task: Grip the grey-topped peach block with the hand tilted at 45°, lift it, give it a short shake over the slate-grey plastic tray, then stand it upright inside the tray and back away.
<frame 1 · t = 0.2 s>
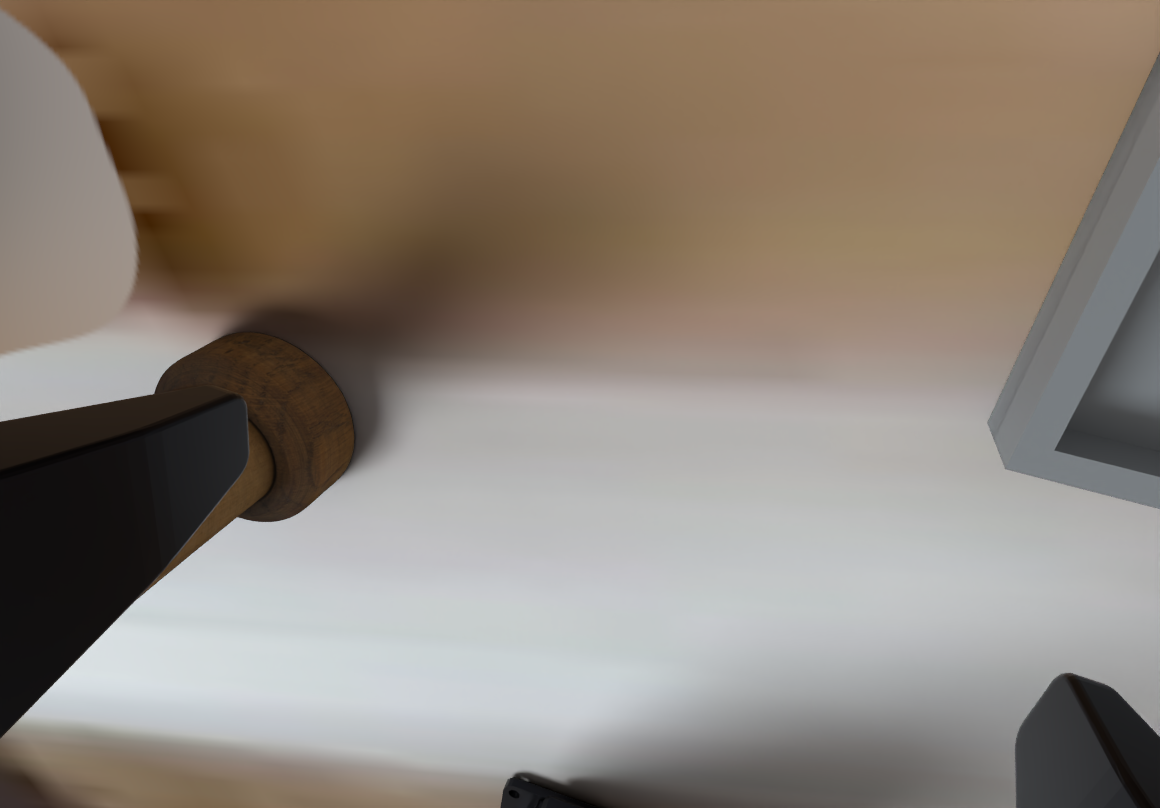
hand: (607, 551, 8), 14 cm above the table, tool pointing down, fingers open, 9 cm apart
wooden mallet: (278, 411, 28), on the table
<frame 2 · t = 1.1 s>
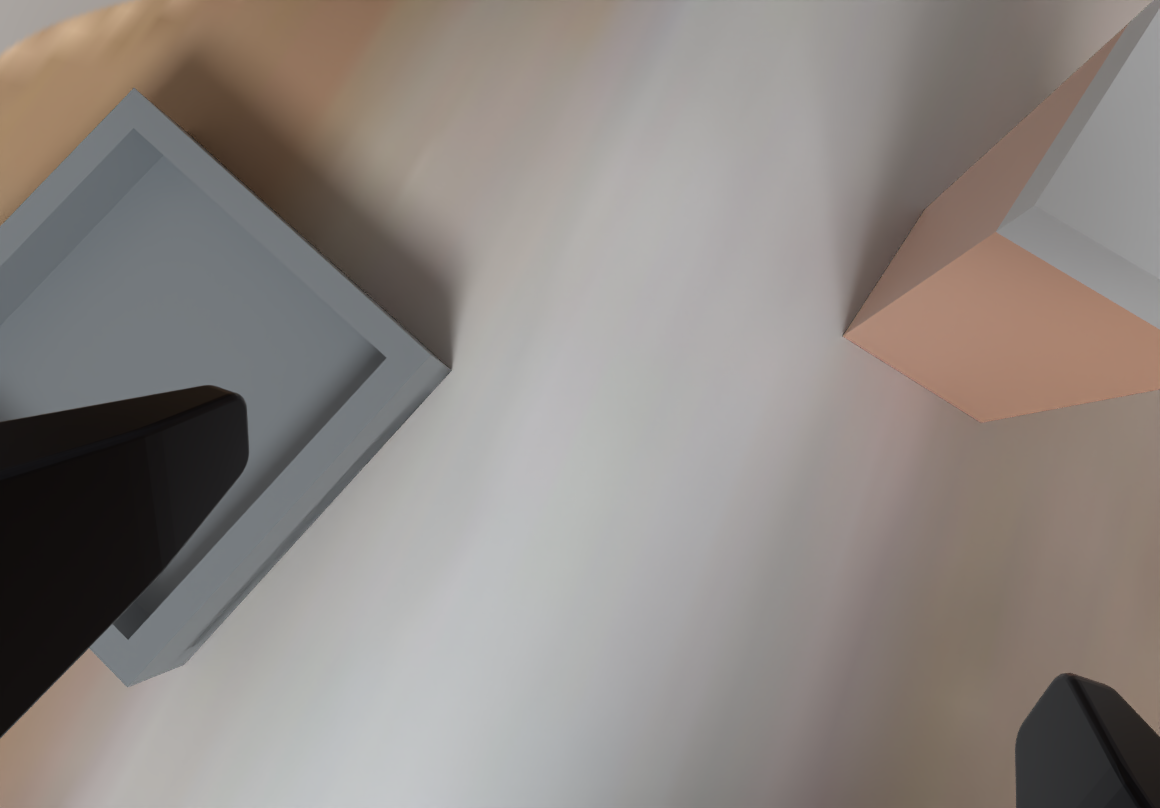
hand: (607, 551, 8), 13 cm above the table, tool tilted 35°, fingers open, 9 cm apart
tray: (184, 387, 22), on the table
grey-topped peach block: (952, 314, 22), on the table
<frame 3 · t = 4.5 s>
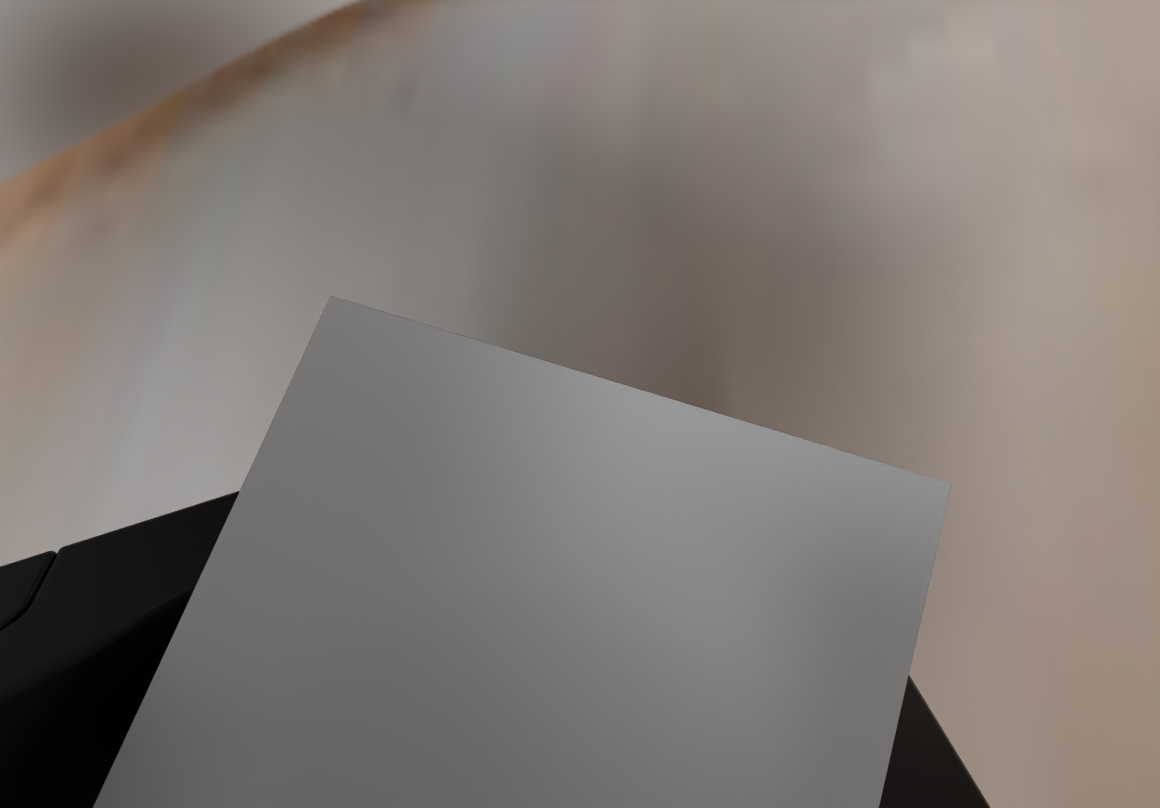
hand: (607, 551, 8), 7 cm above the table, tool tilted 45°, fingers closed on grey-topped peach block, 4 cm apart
grey-topped peach block: (601, 661, 14), on the table, touching gripper
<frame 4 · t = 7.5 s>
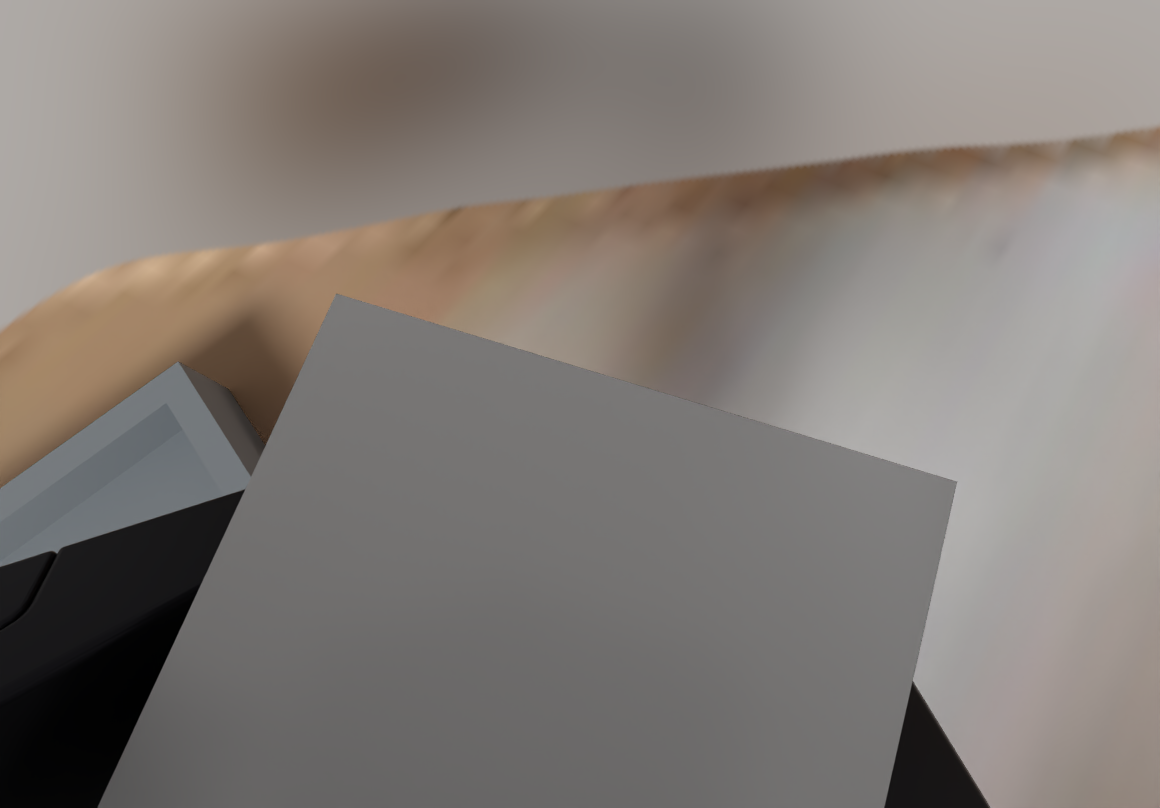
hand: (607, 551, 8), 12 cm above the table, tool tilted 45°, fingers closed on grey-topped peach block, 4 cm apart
tray: (155, 666, 21), on the table
grey-topped peach block: (603, 661, 14), point 6 cm above the table, touching gripper
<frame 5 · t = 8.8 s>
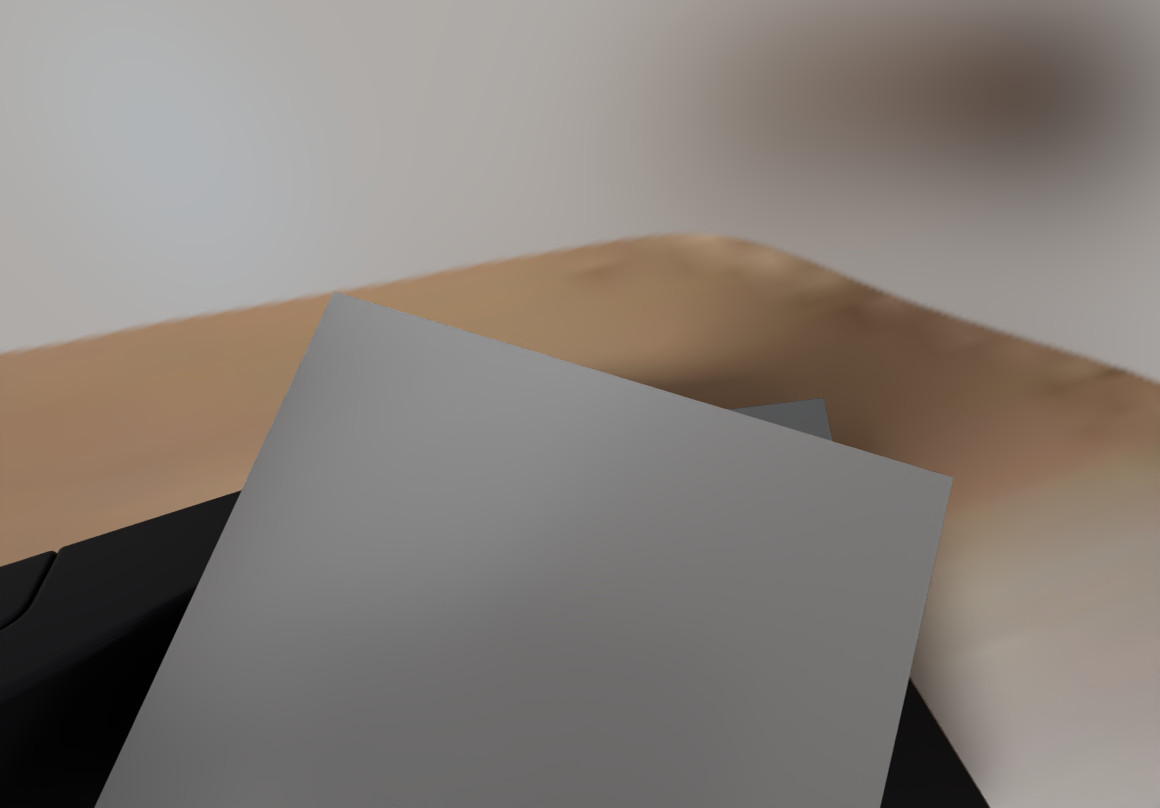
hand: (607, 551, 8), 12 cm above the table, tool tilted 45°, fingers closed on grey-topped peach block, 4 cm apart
tray: (628, 656, 20), on the table
grey-topped peach block: (602, 659, 14), point 6 cm above the table, touching gripper
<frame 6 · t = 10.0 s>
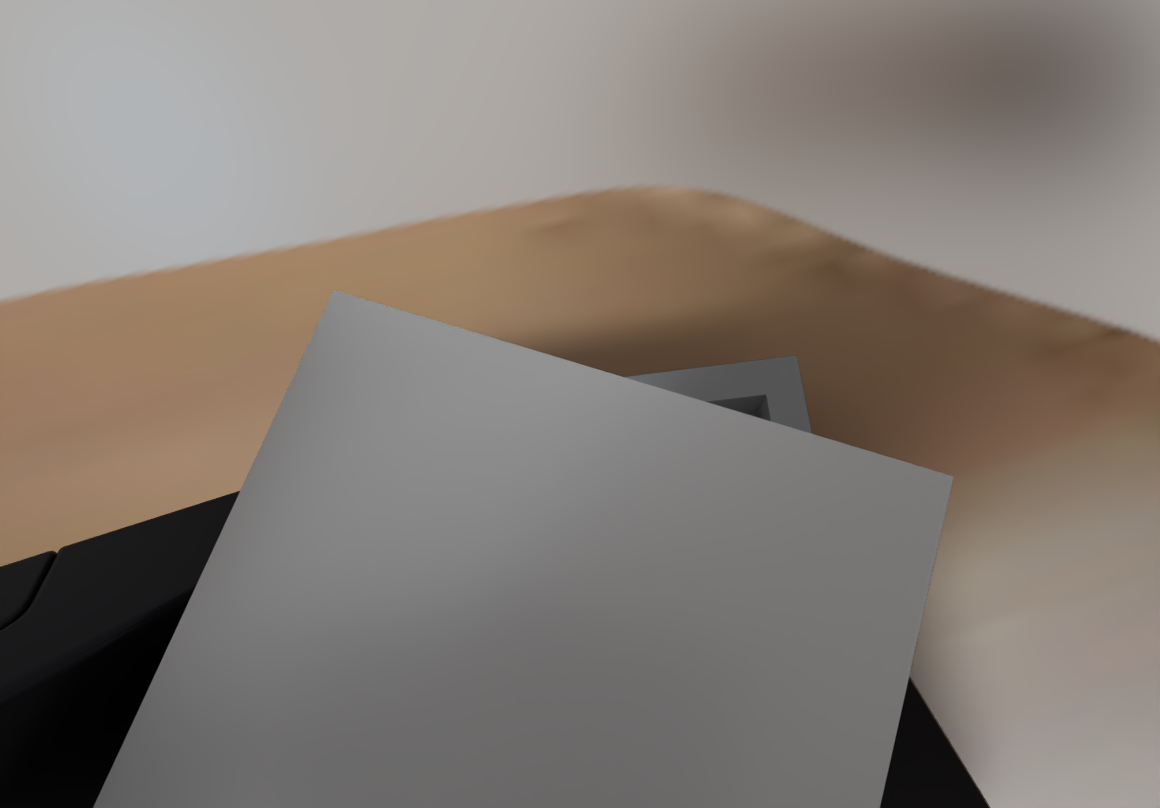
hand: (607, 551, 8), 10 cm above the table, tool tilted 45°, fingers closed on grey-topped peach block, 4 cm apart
tray: (583, 641, 18), on the table
grey-topped peach block: (602, 659, 14), point 4 cm above the table, touching gripper
when the fingers open (9 cm above the table, at t = 10.7 s): grey-topped peach block drops 1 cm, resting on tray.
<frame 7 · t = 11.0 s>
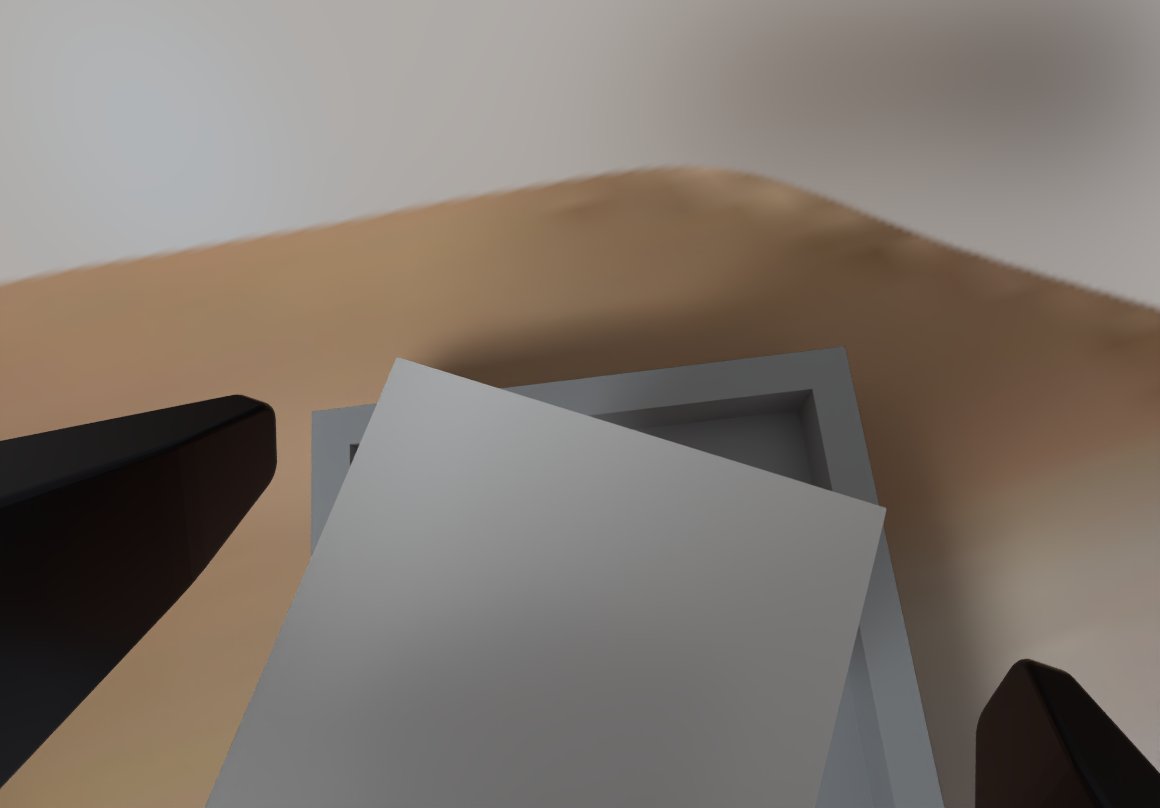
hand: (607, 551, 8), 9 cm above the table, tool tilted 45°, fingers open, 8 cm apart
tray: (609, 658, 17), on the table
grey-topped peach block: (607, 655, 16), point 1 cm above the table, touching tray
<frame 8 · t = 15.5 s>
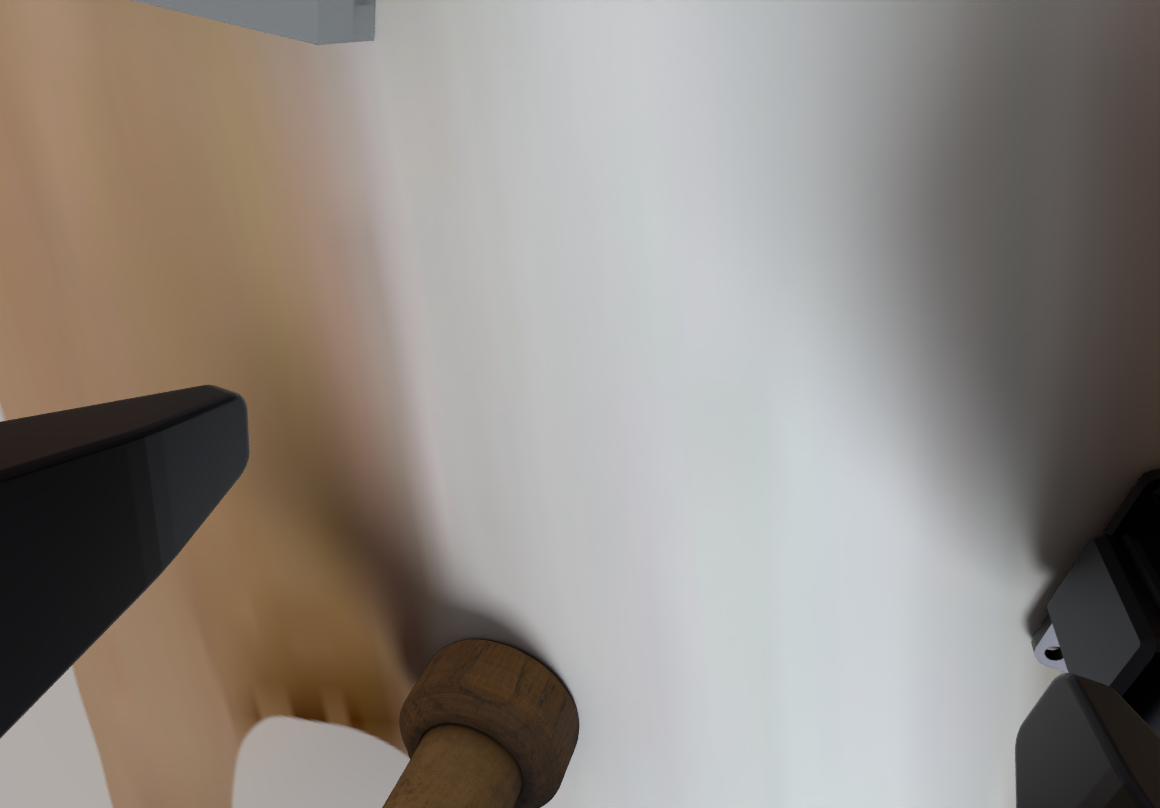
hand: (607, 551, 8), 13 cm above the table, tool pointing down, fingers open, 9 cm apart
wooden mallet: (503, 699, 30), on the table
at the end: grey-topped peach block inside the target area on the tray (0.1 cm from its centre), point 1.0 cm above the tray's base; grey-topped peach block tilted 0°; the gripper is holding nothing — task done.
